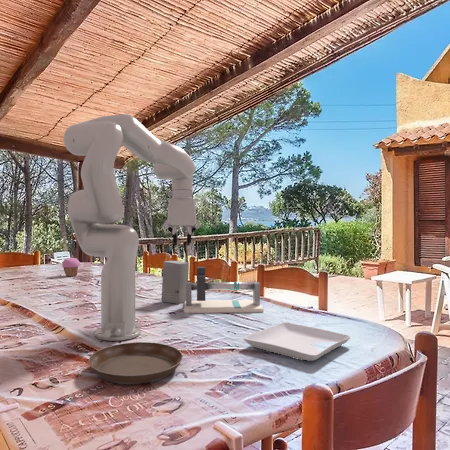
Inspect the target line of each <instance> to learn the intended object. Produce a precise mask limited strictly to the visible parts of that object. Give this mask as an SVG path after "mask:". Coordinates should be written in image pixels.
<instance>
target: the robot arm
mask: <svg viewBox="0 0 450 450" xmlns="http://www.w3.org/2000/svg"><path fill="white" fill-rule="evenodd" d="M63 143H64V147H65V149H66V150H67V151H68V152H69V153H70V154H72V155H74V156H78V157H82V156H83V157H84V159H83V161H82V165H81V169H80V178H81V182H82V186H83V189H80V190H76V191H75V192H74V193H72V194H71V196H69V199H68V201H67V214H68V218H69V221H70V225H71V227H72V230H73V232H74V235H75V237H76V240H77V242H78V245H79V247H80V249H81V251H82V252H83V253H84V254H85V255H87V256H90V257H95V258H107V259H106V260H105V263H104V265H103V266H102V270H101V272H100V273H101V274H100V317H101V318H100V322H101V323H100V328H99V329H97V330H96V331H95V337H96V338H97V340H98V339H99V340H103V341H109V342H115V341H116V342H118V341H120V342H121V341H127V340H131V339H134V338H136V337H138V336H140V335H141V333H142V329H141V327H139V326H138V325H136V266H137V265H136V262H137V255H138V251H139V245H140V238H139V234H138V232H137V231H136V229H134V228H133V227H131V226H130V225H125V224H115V223H117V222H119V221H121V220H122V219H123V217H124V215H125V210H124V205H123V200H122V197H121V196H122V195H121V192H120V190H119V187H118V183H117V179H116V176H115V171H114V170H115V168H114V166H115V160H116V159H117V156H118V154H119V151H120V149H121V147H124V148H125V150H127V151H129V152H130V153H132V154H133V155H134V156H135V157H137V158H138V159H139V160H141V161H142V162H147V163H151V164H153V167H152V169H153V172H154V175H155V177H157V178H158V179H160V180H165V181H167V180H171V190H170V191H167V196H170V197H171V198H169V200H168V206H167V207H168V208H167V218H166V220H165V221H164V222H163V224H162V227H163V228H165V229H166V230H168V231H169V232H170V234H172V244H174V246H177V245H178V234H177V228H178V227H187V235H186V246H190V244H192V234H193V233H194V232H196V230H198V229H199V228H201V227H202V224H201V223H200V222H199V220H198V218H197V206H196V200H195V198H193V189H194V188H193V187H194V185H193V176H194V174H195V171H196V169H195V168H196V166H195V163H194V160H193V159H192V157H191V156H190V155H189V154H188V153H187V152H186V151H185V150H184V149H182V148H181V147H179V146H177V145H175V144H173V143H171V142H168V141H166V140H162V139H160V138H157V137H156V136H154V134H153V133H151V131H149V130H148V129H147V128H146V126H144V124H142V123H141V122H140V121H139V120H138V119H137V118H136V117H135V116H132V115H131V114H128V113H124V114H123V113H122V114H112V115H104V116H99V117H95V118H92V119H89V120H87V121H86V120H85V121H83V122H78V123H74V124H72V125H70V126H69V127H67V129H65V131H64V134H63Z"/></svg>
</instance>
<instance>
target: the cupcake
mask: <svg viewBox="0 0 450 450" xmlns="http://www.w3.org/2000/svg"><path fill="white" fill-rule="evenodd" d="M61 266H62V268H63V271H64V274H65V276H67V277H76V276H77V275H78V271H79V267H80V266H81V262H80V261H79V259H78V258H77V257H68V258H65V259H64V260H63V262H62V264H61Z"/></svg>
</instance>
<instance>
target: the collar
mask: <svg viewBox="0 0 450 450" xmlns="http://www.w3.org/2000/svg"><path fill="white" fill-rule="evenodd" d="M205 282H206V266H197V267H196V283H197V290H196V301H205V300H206V290H205Z"/></svg>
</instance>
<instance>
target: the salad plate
mask: <svg viewBox="0 0 450 450" xmlns="http://www.w3.org/2000/svg"><path fill="white" fill-rule="evenodd" d="M350 339H351V336H350V335H348V334H343V333H339V332H335V331H330V330H325V329H322V328H317V327H314V326H313V327H312V326H307V325H302V324H297V323H291V322H281V323H278V324H275V325H272V326H269V327H266V328H264V329H261V330H258V331H256V332H254V333H252V334H249V335H247V336H244V337H243V340H244V342H246V343H247V344H248V345H250V346H251V347H254V348H257V349H260V350H262V349H263V350H262V351H264V350H266V351H265V352H268V351H270V352H269V353H271V352H274V353H273V354H275V353H278V354H277V355H279V354H282V355H281V356H283V355H286V356H290V357H294V358H298V359H302V360H301V361H303V360H307V361H306V362H312V361H316V360H318V359H320V358H321V357H323V356H325V355H327V354H329V353H330V352H331V350H332V351H333V350H335V349H338V348H339V347H341V346H343V345H344V344H346V343H347V342H348V341H349V340H350ZM322 341H323V342H325V341H326V342H327V341H328V342H337V343H335V344H333V345H331V346H330V347H328V348H326V349H325V350H323V351H320V350H319V351H318V350H317V348H314V347H315V346H314V347H313V346H312V347H311V346H310V344H312V345H313V343H314V345H316V342H317V343H318V344H319V342H320V343H322ZM342 344H343V345H342ZM340 345H341V346H340ZM318 349H319V348H318ZM324 354H325V355H324ZM286 356H285V357H286ZM290 357H289V358H290ZM294 358H293V359H294ZM298 359H297V360H298Z"/></svg>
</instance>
